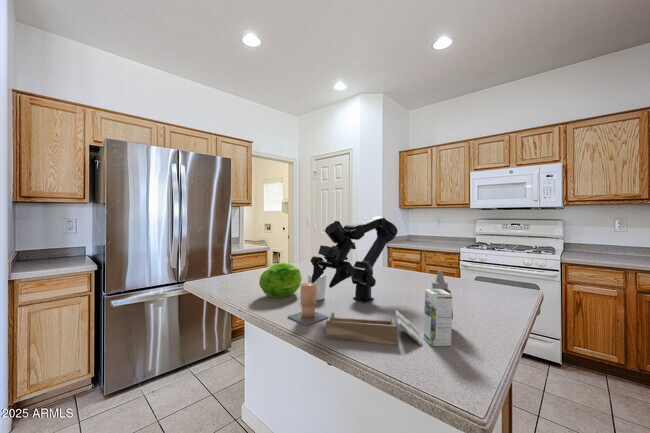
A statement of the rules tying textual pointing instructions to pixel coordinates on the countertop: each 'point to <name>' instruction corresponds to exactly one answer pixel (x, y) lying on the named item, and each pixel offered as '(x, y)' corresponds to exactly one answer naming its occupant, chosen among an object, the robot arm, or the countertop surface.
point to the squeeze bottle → (441, 284)
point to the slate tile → (307, 322)
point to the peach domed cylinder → (308, 300)
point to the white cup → (319, 285)
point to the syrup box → (438, 317)
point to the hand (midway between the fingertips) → (320, 284)
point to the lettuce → (280, 280)
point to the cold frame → (369, 329)
